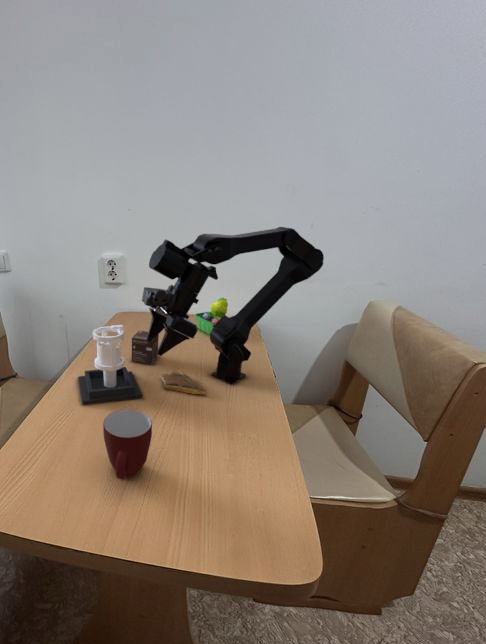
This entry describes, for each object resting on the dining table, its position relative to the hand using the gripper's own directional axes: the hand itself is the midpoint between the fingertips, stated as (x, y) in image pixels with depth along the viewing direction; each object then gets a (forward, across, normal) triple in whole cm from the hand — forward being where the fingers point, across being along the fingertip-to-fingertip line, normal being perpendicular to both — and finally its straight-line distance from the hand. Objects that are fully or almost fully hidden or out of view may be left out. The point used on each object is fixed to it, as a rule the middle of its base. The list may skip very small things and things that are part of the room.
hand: (153, 347), depth 87 cm
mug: (+16, +28, -4) cm, 32 cm away
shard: (+6, 0, +12) cm, 14 cm away
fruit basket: (-6, -32, +30) cm, 45 cm away
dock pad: (+14, -2, -4) cm, 15 cm away
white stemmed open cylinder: (+14, -2, -4) cm, 14 cm away
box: (+8, -16, +7) cm, 19 cm away
